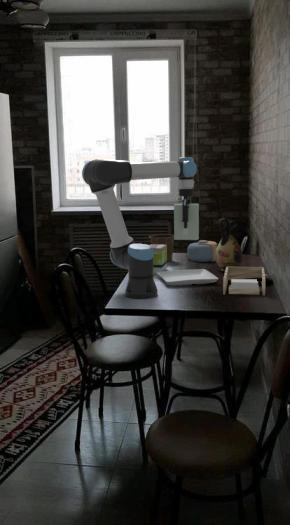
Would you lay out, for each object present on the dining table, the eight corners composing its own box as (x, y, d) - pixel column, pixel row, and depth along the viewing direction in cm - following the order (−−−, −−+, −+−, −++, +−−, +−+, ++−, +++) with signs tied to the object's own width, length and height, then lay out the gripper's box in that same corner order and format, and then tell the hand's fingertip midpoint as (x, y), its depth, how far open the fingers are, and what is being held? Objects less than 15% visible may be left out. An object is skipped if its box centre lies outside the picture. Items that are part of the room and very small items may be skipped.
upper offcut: (257, 288, 243) (258, 282, 242) (231, 288, 244) (231, 282, 244) (256, 285, 250) (256, 279, 249) (231, 285, 251) (231, 279, 251)
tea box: (163, 274, 294) (162, 247, 292) (145, 273, 296) (144, 247, 294) (167, 268, 309) (167, 243, 306) (150, 268, 311) (150, 243, 308)
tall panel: (197, 239, 268) (197, 204, 265) (174, 239, 270) (174, 204, 267) (198, 238, 273) (198, 203, 269) (175, 238, 275) (175, 203, 272)
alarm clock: (220, 261, 329) (220, 242, 327) (188, 262, 329) (188, 243, 327) (217, 256, 348) (217, 238, 346) (186, 257, 348) (186, 239, 346)
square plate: (204, 275, 291) (204, 268, 290) (219, 285, 264) (219, 277, 264) (156, 277, 287) (155, 270, 286) (166, 288, 260) (166, 280, 259)
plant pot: (146, 262, 329) (146, 237, 327) (153, 258, 345) (153, 234, 342) (171, 263, 325) (171, 237, 322) (177, 259, 340) (177, 234, 337)
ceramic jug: (229, 266, 311) (229, 216, 306) (247, 270, 299) (248, 217, 293) (207, 270, 302) (207, 218, 297) (225, 274, 290) (225, 220, 284)
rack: (265, 295, 241) (265, 280, 239) (223, 294, 244) (223, 279, 243) (263, 280, 272) (263, 267, 271) (226, 279, 276) (226, 266, 275)
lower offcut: (259, 295, 243) (259, 289, 242) (228, 294, 245) (228, 288, 245) (258, 292, 250) (259, 285, 249) (228, 291, 252) (229, 285, 252)
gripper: (191, 188, 257) (191, 236, 261) (195, 187, 275) (195, 231, 279) (176, 189, 259) (176, 236, 263) (181, 187, 276) (181, 231, 280)
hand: (186, 233), depth 271 cm, fingers closed on tall panel, 5 cm apart
